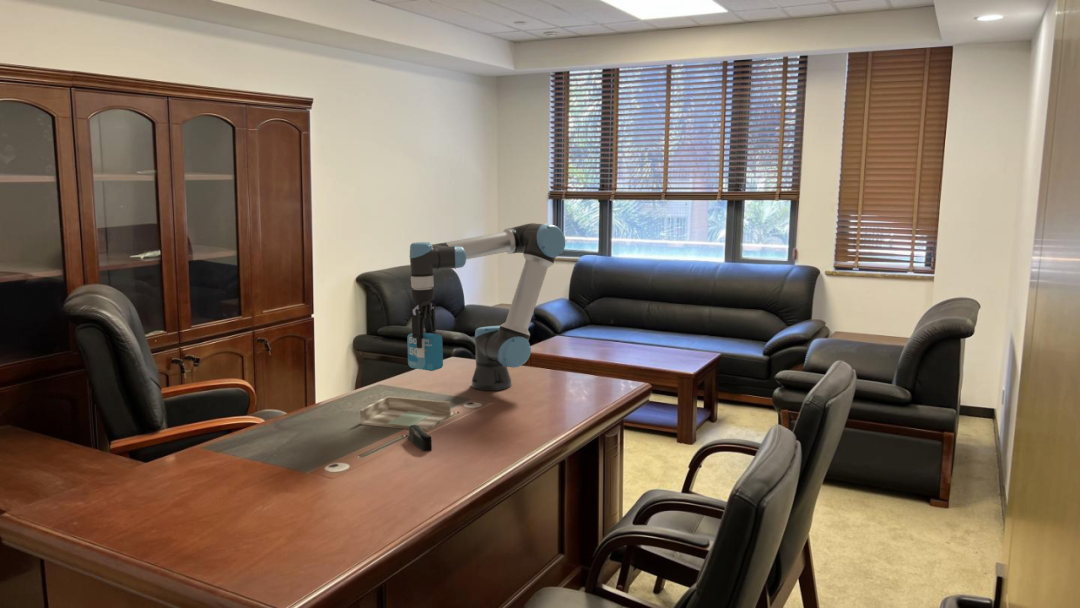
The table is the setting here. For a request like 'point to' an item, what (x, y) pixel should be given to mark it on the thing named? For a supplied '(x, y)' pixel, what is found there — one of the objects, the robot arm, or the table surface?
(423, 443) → the mobile phone
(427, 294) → the robot arm
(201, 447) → the table surface
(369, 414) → the tray
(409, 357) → the data package
